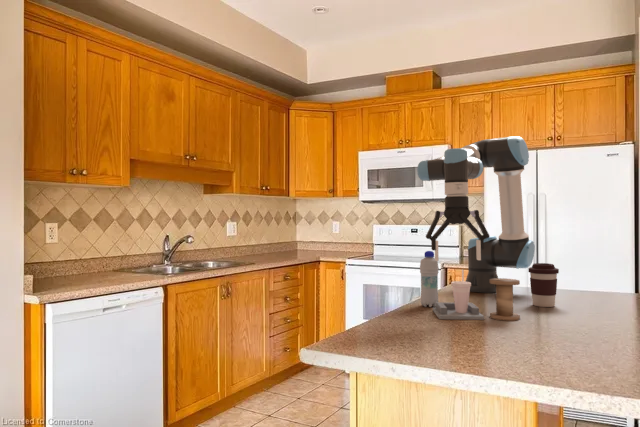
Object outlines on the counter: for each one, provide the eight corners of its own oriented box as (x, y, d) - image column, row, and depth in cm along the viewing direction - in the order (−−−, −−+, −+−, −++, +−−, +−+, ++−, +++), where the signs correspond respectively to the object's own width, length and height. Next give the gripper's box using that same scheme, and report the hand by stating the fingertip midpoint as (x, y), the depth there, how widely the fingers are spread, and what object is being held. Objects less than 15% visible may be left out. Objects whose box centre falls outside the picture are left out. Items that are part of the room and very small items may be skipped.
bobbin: (486, 314, 161) (486, 278, 161) (514, 315, 160) (514, 278, 160) (494, 320, 152) (493, 282, 152) (523, 321, 151) (523, 282, 151)
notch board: (432, 310, 169) (432, 301, 169) (474, 310, 168) (474, 302, 168) (439, 319, 155) (439, 309, 155) (484, 319, 154) (484, 310, 154)
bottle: (437, 304, 180) (437, 250, 180) (440, 308, 173) (439, 251, 173) (419, 304, 180) (418, 250, 180) (421, 307, 174) (420, 251, 174)
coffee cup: (564, 308, 171) (563, 265, 171) (535, 308, 172) (535, 265, 172) (551, 303, 181) (551, 262, 181) (524, 303, 181) (524, 262, 181)
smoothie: (472, 314, 157) (472, 270, 157) (451, 313, 158) (451, 270, 158) (470, 310, 163) (470, 268, 163) (450, 309, 165) (450, 268, 165)
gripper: (419, 196, 159) (420, 261, 159) (498, 194, 156) (499, 260, 157) (416, 196, 166) (418, 259, 166) (492, 195, 164) (493, 258, 164)
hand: (457, 260), depth 162 cm, fingers open, 13 cm apart
